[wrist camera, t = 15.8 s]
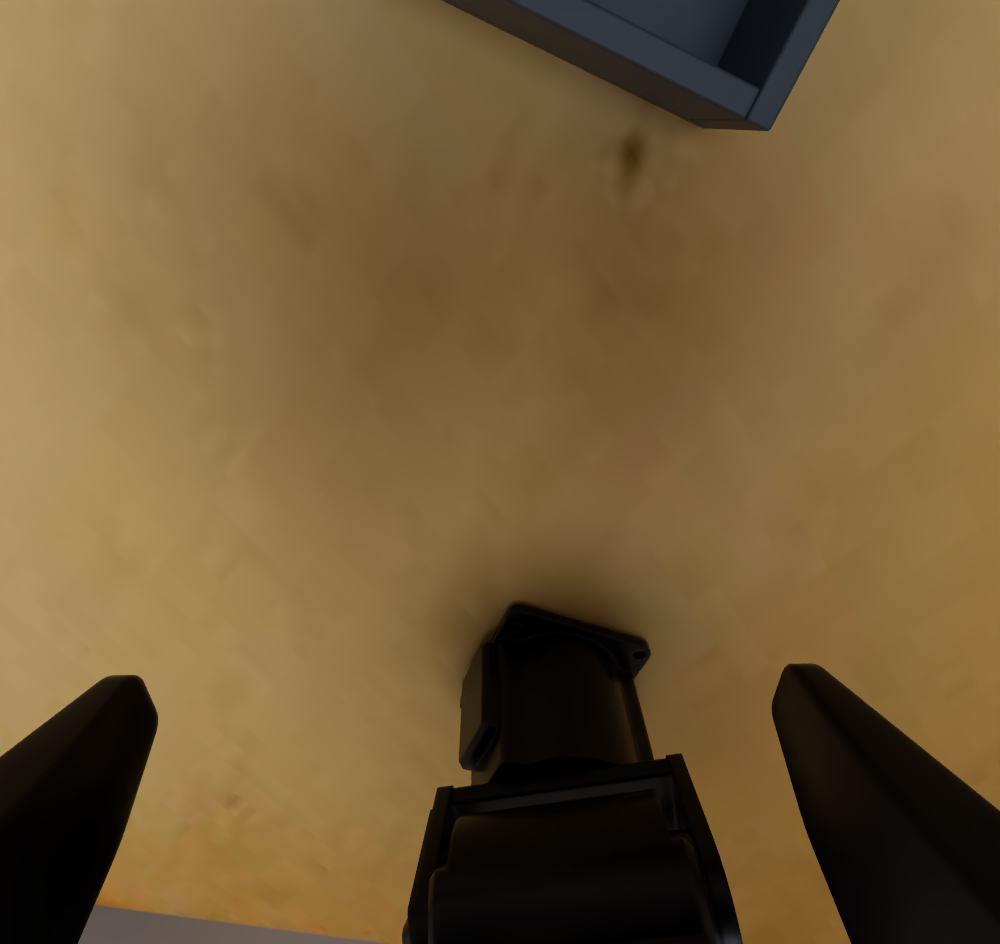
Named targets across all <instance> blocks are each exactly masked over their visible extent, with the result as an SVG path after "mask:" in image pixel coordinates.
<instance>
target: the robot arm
mask: <svg viewBox="0 0 1000 944" xmlns="http://www.w3.org/2000/svg"><path fill="white" fill-rule="evenodd" d="M515 616H522V617H521V618H515ZM635 651H639V652H635ZM650 655H651V653H650V649H649V645H648V643H647V642H646V641H644V640H642V639H638V638H635V637H631V636H628V635H624V634H621V633H618V632H614V631H611V630H607V629H604V628H601V627H597V626H594V625H590V624H587V623H583V622H580V621H577V620H573V619H570V618H566V617H563V616H559V615H556V614H553V613H549V612H546V611H542V610H539V609H536V608H532V607H529V606H525V605H521V604H517V605H513V606H511V607H509V608H508V610H507V611H506V613H505V615H504V617H503V619H502V620H501V622H500V624H499V626H498V628H497V630H496V632H495V634H494V635H493V637H492V639H491V641H490V642H488V641H487V642H486V643H484V644H483V645H482V646H481V648H480V650H479V652H478V653H477V655H476V657H475V659H474V661H473V663H472V665H471V667H470V669H469V671H468V673H467V674H466V676H465V678H464V680H463V684H462V696H461V701H460V707H461V726H460V747H459V763H460V764H461V766H462V768H463V769H466V770H471V771H472V774H471V786H465V787H458V788H454V787H453V786H445V787H438V788H437V792H436V796H435V801H434V805H433V809H431V811H430V814H429V818H428V823H427V827H426V831H425V836H424V840H423V844H422V849H421V853H420V858H419V862H418V866H417V871H416V875H415V879H414V884H413V888H412V892H411V897H410V901H409V906H408V918H407V920H406V923H405V925H404V928H403V933H402V943H403V944H743V942H742V937H741V933H740V929H739V924H738V920H737V915H736V912H735V908H734V904H733V900H732V896H731V892H730V889H729V885H728V882H727V878H726V875H725V871H724V868H723V865H722V862H721V859H720V856H719V853H718V850H717V847H716V844H715V841H714V839H713V836H712V833H711V831H710V828H709V825H708V823H707V820H706V817H705V815H704V812H703V809H702V807H701V804H700V801H699V799H698V796H697V793H696V791H695V788H694V785H693V783H692V780H691V777H690V775H689V772H688V769H687V767H686V764H685V761H684V759H683V756H682V754H681V753H679V754H672V755H666V758H664V759H657V760H654V757H653V753H652V749H651V745H650V741H649V737H648V734H647V730H646V726H645V722H644V718H643V714H642V710H641V706H640V702H639V699H638V695H637V691H636V687H635V683H634V678H635V677H636V676H637V674H638V673H639V671H640V670H641V669H642V667H643V666H644V664H645V663H646V662H647V660H648V659H649V657H650ZM772 716H773V720H774V724H775V727H776V731H777V734H778V737H779V741H780V744H781V748H782V751H783V755H784V758H785V761H786V765H787V768H788V772H789V775H790V779H791V782H792V786H793V789H794V792H795V796H796V799H797V803H798V806H799V810H800V813H801V816H802V819H803V822H804V825H805V829H806V831H807V834H808V836H809V839H810V842H811V844H812V847H813V850H814V852H815V855H816V857H817V860H818V862H819V865H820V867H821V869H822V872H823V874H824V877H825V879H826V882H827V884H828V887H829V889H830V892H831V894H832V897H833V899H834V902H835V904H836V907H837V909H838V912H839V914H840V917H841V919H842V922H843V924H844V927H845V929H846V932H847V934H848V936H849V939H850V941H851V944H1000V811H999V810H998V809H997V808H996V807H994V806H993V805H992V804H991V803H989V802H988V801H987V800H986V799H984V798H983V797H982V796H981V795H979V794H978V793H977V792H976V791H975V790H973V789H972V788H971V787H970V786H968V785H967V784H966V783H965V782H963V781H962V780H961V779H960V778H958V777H957V776H956V775H955V774H953V773H952V772H951V771H950V770H949V769H947V768H946V767H945V766H944V765H942V764H941V763H940V762H939V761H937V760H936V759H935V758H934V757H932V756H931V755H930V754H929V753H927V752H926V751H925V750H924V749H922V748H921V747H920V746H919V745H918V744H916V743H915V742H914V741H913V740H911V739H910V738H909V737H908V736H906V735H905V734H904V733H903V732H901V731H900V730H899V729H898V728H896V727H895V726H894V725H893V724H892V723H890V722H889V721H888V720H887V719H885V718H884V717H883V716H882V715H880V714H879V713H878V712H877V711H875V710H874V709H873V708H872V707H870V706H869V705H868V704H867V703H866V702H864V701H863V700H862V699H861V698H859V697H858V696H857V695H856V694H854V693H853V692H852V691H851V690H849V689H848V688H847V687H846V686H844V685H843V684H842V683H841V682H840V681H838V680H837V679H836V678H835V677H833V676H832V675H831V674H830V673H828V672H827V671H826V670H825V669H823V668H822V667H820V666H818V665H816V664H810V663H809V664H788V665H787V666H786V667H785V668H784V670H783V672H782V675H781V678H780V680H779V683H778V686H777V689H776V692H775V695H774V698H773V701H772ZM157 726H158V714H157V711H156V708H155V706H154V704H153V702H152V699H151V697H150V695H149V693H148V690H147V688H146V686H145V684H144V681H143V680H142V679H141V678H140V677H139V676H136V675H113V676H108V677H106V678H104V679H102V680H100V681H99V682H98V683H96V684H95V685H94V686H92V687H91V688H90V689H88V690H87V691H86V692H85V693H83V694H82V695H81V696H79V697H78V698H77V699H75V700H74V701H73V702H71V703H70V704H69V705H68V706H66V707H65V708H64V709H62V710H61V711H60V712H58V713H57V714H56V715H54V716H53V717H52V718H51V719H49V720H48V721H47V722H45V723H44V724H43V725H41V726H40V727H39V728H37V729H36V730H35V731H34V732H32V733H31V734H30V735H28V736H27V737H26V738H24V739H23V740H22V741H20V742H19V743H18V744H16V745H15V746H14V747H13V748H11V749H10V750H9V751H7V752H6V753H5V754H3V755H2V756H1V757H0V944H78V942H79V939H80V937H81V934H82V932H83V930H84V928H85V925H86V923H87V920H88V918H89V916H90V914H91V911H92V909H93V906H94V904H95V902H96V900H97V897H98V895H99V893H100V890H101V888H102V886H103V883H104V881H105V879H106V876H107V874H108V872H109V869H110V867H111V865H112V862H113V860H114V857H115V855H116V852H117V850H118V848H119V845H120V842H121V840H122V837H123V834H124V831H125V828H126V825H127V822H128V819H129V816H130V813H131V810H132V807H133V803H134V800H135V797H136V794H137V791H138V788H139V785H140V781H141V778H142V775H143V772H144V769H145V766H146V763H147V759H148V756H149V753H150V750H151V747H152V744H153V741H154V737H155V734H156V731H157Z"/></svg>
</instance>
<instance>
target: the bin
mask: <svg viewBox="0 0 1000 944" xmlns="http://www.w3.org/2000/svg"><path fill="white" fill-rule="evenodd" d="M442 1H444V2H446V3H448V4H450V5H452V6H454V7H456V8H458V9H460V10H463V11H465V12H467V13H469V14H471V15H473V16H475V17H477V18H479V19H481V20H483V21H485V22H487V23H489V24H491V25H493V26H495V27H497V28H499V29H501V30H503V31H505V32H508V33H510V34H512V35H514V36H516V37H518V38H520V39H522V40H524V41H526V42H528V43H530V44H532V45H534V46H536V47H538V48H540V49H542V50H544V51H546V52H548V53H550V54H552V55H555V56H557V57H559V58H561V59H563V60H565V61H567V62H569V63H571V64H573V65H575V66H577V67H579V68H581V69H583V70H585V71H587V72H589V73H591V74H593V75H595V76H597V77H600V78H602V79H604V80H606V81H608V82H610V83H612V84H614V85H616V86H618V87H620V88H622V89H624V90H626V91H628V92H630V93H632V94H634V95H636V96H638V97H640V98H642V99H645V100H647V101H649V102H651V103H653V104H655V105H657V106H659V107H661V108H663V109H665V110H667V111H669V112H671V113H673V114H675V115H677V116H679V117H681V118H683V119H685V120H687V121H689V122H692V123H694V124H696V125H698V126H700V127H702V128H712V129H733V130H755V131H769V130H770V129H771V127H772V126H773V124H774V122H775V120H776V118H777V116H778V114H779V113H780V111H781V109H782V107H783V105H784V103H785V101H786V99H787V98H788V96H789V94H790V92H791V90H792V88H793V86H794V85H795V83H796V81H797V79H798V77H799V75H800V73H801V72H802V70H803V68H804V66H805V64H806V62H807V60H808V59H809V57H810V55H811V53H812V51H813V49H814V47H815V45H816V44H817V42H818V40H819V38H820V36H821V34H822V32H823V31H824V29H825V27H826V25H827V23H828V21H829V19H830V18H831V16H832V14H833V12H834V10H835V8H836V6H837V4H838V3H839V1H840V0H442Z"/></svg>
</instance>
